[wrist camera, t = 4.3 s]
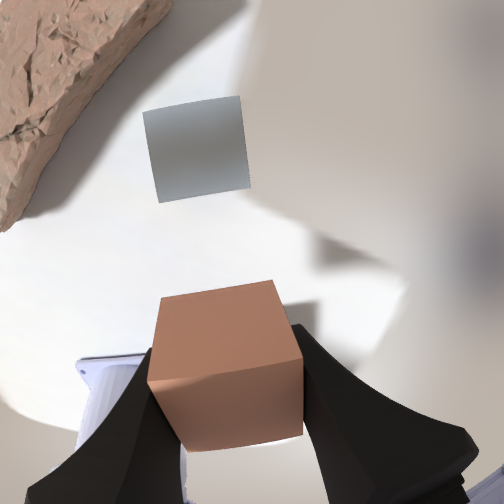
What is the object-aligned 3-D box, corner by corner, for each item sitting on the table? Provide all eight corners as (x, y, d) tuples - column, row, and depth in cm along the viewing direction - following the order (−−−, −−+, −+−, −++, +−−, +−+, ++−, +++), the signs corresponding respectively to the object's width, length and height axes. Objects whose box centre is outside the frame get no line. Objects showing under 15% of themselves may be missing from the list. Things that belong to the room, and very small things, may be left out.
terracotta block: (279, 358, 13) (303, 434, 9) (187, 373, 12) (187, 452, 9) (272, 279, 11) (303, 357, 7) (161, 297, 11) (147, 381, 7)
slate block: (240, 172, 17) (250, 187, 13) (169, 183, 16) (158, 203, 13) (231, 101, 15) (239, 95, 11) (157, 113, 15) (142, 112, 11)
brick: (22, 227, 16) (-16, 257, 12) (-46, 159, 13) (-87, 174, 8) (183, 10, 12) (176, -24, 8) (92, -46, 9) (67, -78, 5)
